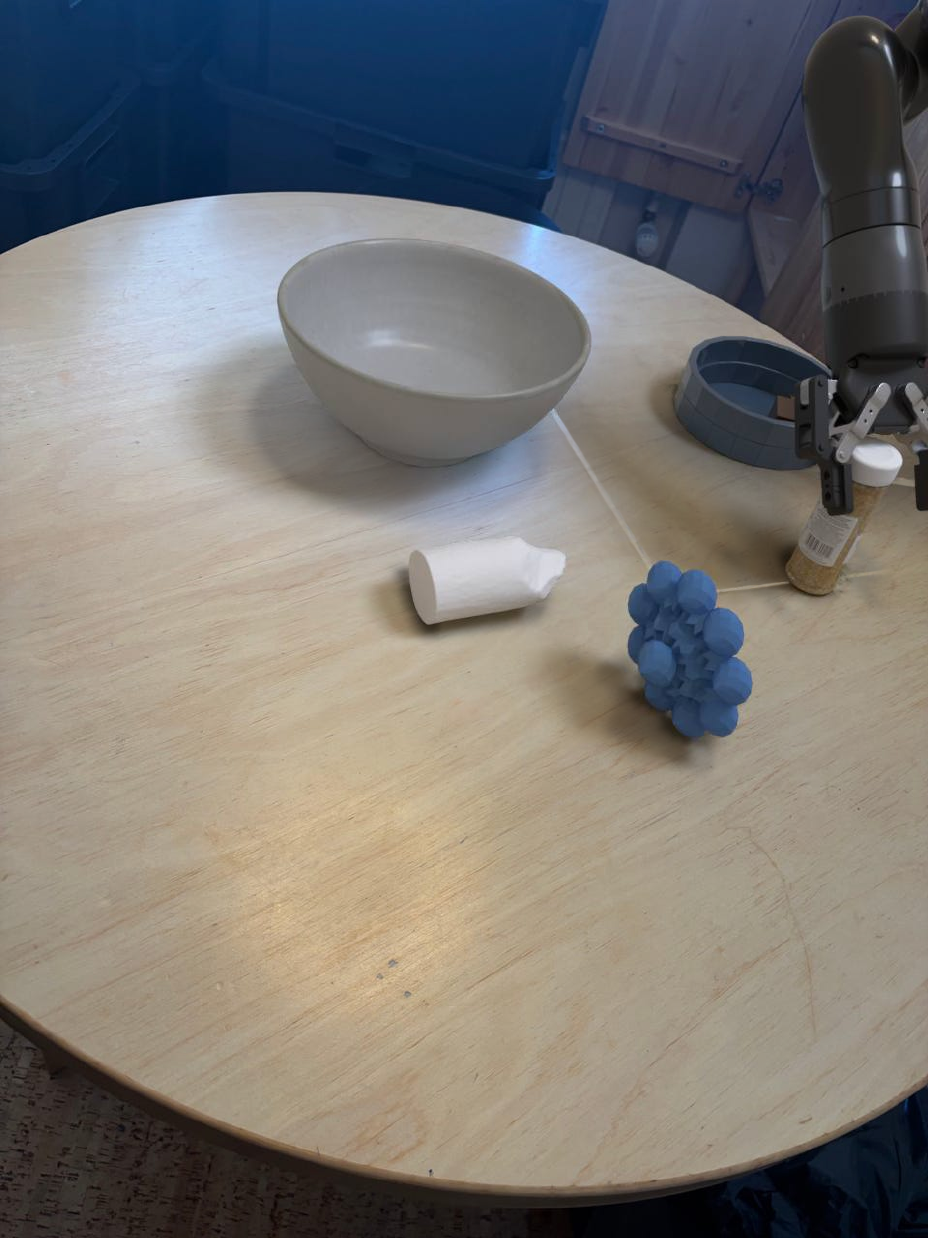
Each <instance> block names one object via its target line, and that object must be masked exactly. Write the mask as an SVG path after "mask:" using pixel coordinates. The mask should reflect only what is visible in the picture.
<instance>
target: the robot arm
mask: <svg viewBox="0 0 928 1238" xmlns="http://www.w3.org/2000/svg"><path fill="white" fill-rule="evenodd" d="M800 89H801V96H800V97H801V98H800V99H801V109H802V116H803V122H804V127H805V132H806V137H807V142H808V146H809V151H810V155H811V161H812V164H813V168H814V172H815V176H816V179H817V183H818V189H819V195H820V197H819V198H820V200H819V215H820V216H819V217H820V233H821V247H822V251H821V253H822V255H821V257H822V259H821V260H822V261H821V271H820V293H821V294H820V295H821V310H822V324H823V325H822V327H823V342H824V343H823V344H824V345H823V346H824V360H825V361H824V362H825V367H827V368H828V369H829V370H831V371H832V374H831V378H830V380H828V379H827V378H826V376H824V375H822V374H820V375H817V376H814V377H811V378H808V379H806V380H803V381H800V382H798V383H796V384H795V387H794V397H793V399H794V414H795V455H796V457H797V458H798V459H800V460H804V459H807V460H809V461H812V462H815V463H816V464H815V465H816V466H817V467H818V468H819V475H820V489H821V493H822V503H823V506H824V508H825V509H827V513H828V515H829V516H840V515H847V514H851V513H852V512H853V510H854V502H853V485H852V468H851V464H846V462H847V461H848V460H849V458H850V456H851V454H852V453H853V451H854V449H855V447H856V445H857V444H858V442H859V441H860V440H862V439H863V438H864V437H865V436H871V435H874V434H875V435H879V436H891V435H892V436H893V437H894V438H895V440H896V441H897V442H898V443H900V444H902V445H904V446H905V447H906V448H907V449H908V452H910V454H911V455H912V457H913V458H914V460H915V462H916V463H918V464H913V476H914V492H915V493H914V494H915V508H916V510H917V511H918V512H928V373H927V370H926V365H925V364H926V361H927V358H928V261H927V255H926V250H925V246H924V240H923V233H922V216H921V214H922V213H921V197H920V196H921V195H920V185H919V178H918V173H917V169H916V166H915V165H916V164H915V163H914V161H913V158H912V156H911V154H910V153H909V151H908V148H907V145H906V142H905V135H904V129H906V128H907V127H908V126H910V125H911V124H912V123H913V122H914V121H916V120H917V119H918V118H919V117H920V116H921V115H922V114H924V113H925V112H926V111H927V110H928V0H919V1H918V3H917V4H916V5H915V6H914V8H913V9H912V10H911V11H910V12H909V13H908V14H907V15H906V16H905V17H904V19H903V20H902V21H901V22H900V23H899V24H898V25H897V26H896V27H895V28H894V29H893V28H892V27H890V25H888V24H887V23H885V22H884V21H882V20H880V19H878V18H876V17H873V16H869V15H853V16H848V17H845V18H843V19H840V20H838V21H837V22H835V23H833V24H831V25H830V26H829V27H828V28H826V30H825V31H824V32H823V33H822V34H820V36H819V37H818V38H817V40H816V41H815V43H814V44H813V46H812V47H811V49H810V52H809V53H808V56H807V58H806V60H805V63H804V67H803V71H802V77H801V88H800ZM830 401H832V403H833V404H834V406H835V407H836V409H837V410H838V411H837V413H836V414H835V416H834V418H833V420H832V422H831V423H830V425H829V404H830ZM915 422H916V424H914V423H915Z"/></svg>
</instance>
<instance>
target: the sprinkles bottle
mask: <svg viewBox="0 0 928 1238" xmlns="http://www.w3.org/2000/svg"><path fill="white" fill-rule="evenodd" d="M846 464H851V468H852V485H853V502H854V510H853V512H852V513H851V514H847V515H840V516H829V515H828V513H827V509H825V508H824V506H823V503H822V492H821V493H820V495H819V497H818V499H817V501H816V503H815V505H814V507H813V509H812V512H811V513H810V516H809V517H808V519H807V521H806V524H805V526H804V528H803V530H802V532H801V534H800V536H799V538H798V542H797V544H796V547H795V549H794V550H793V553H792V555H791V557H790V559H789V560H788V561H787V562H786V563H785V567H784V571H785V574H786V576H787V577H788V579H789V583H790V584H792V585H793V586H794V587H796V588H797V589H798V590H801V591H802V592H803V591H804V592H805V593H808V594H811V595H826V594H829V593H831V592H832V591H833V590H835V588H836V586H837V585H838V580H839V579H840V576H841V574H842V572H843V571H844V569H845V567H846V565H847V563H848V562H849V561H850V560H851V558H852V556H853V554H854V553H855V550H856V549H857V546H858V545H859V543H860V541H861V539H862V537H863V536H864V531H865V530H866V528H867V526H868V524H869V523H870V520H871V518H872V516H873V514H874V513H875V511H876V510H877V507H878V505H879V504H880V503H881V499H882V498H883V496H884V494H885V492H886V490H887V488H889V487H890V485H891V484H892V483H893V482H894V481H895V479H896V477H897V475H898V474H899V472H900V470H901V468H902V465H903V456H902V455H901V452H900V451H899V450H898V449H897V448H896V447H895V446H893V445H892V444H890V443H889V442H887V441H885V440H883V439H880V438H878V437H874V436H871V435H866V436H865V437H864V438H863V439H862V440H860V441H859V442H858V444H857V445H856V447H855V449H854V451H853V453H852V454H851V456H850V458H849V460H848V461H847V462H846Z"/></svg>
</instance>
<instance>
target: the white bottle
mask: <svg viewBox="0 0 928 1238" xmlns="http://www.w3.org/2000/svg"><path fill="white" fill-rule="evenodd" d="M566 561H567V556H566V555H565V553H563V552H562V551H560V550H557V549H552V548H546V547H542V548H541V547H537V546H534V545H532V544H529V543H528V542H526V541H525V540H524V539H523V538H521V537H520V536H517V535H507V536H506V535H505V536H499V537H492V538H484V539H474V540H463V541H456V542H453V543H449V544H444V545H439V546H438V545H437V546H433V547H426V548H420V549H414V550H413V551H412V552H411V553H410V555H409V559H408V578H409V580H408V581H409V586H410V591H411V596H412V602H413V605H414V608H415V610H416V613H417V614H418V616H419V617H420V619H421V620H422V621H423V623H425V625H433V624H439V623H442V622H443V623H444V622H449V621H453V620H458V619H459V620H460V619H465V618H472V617H477V616H483V615H488V614H494V613H499V612H506V611H511V610H518V609H521V608H525V607H528V606H531V605H534V604H536V603H539V602H541V601H543V600H545V599H546V598H547V596H548V595H549V594H550V592H551V591H552V589H553V587H554V586H555V585H556V584H557V582H558V581H559V580H560V579H561V578H562V576H563V574H564V570H565V569H566V568H567V565H566Z"/></svg>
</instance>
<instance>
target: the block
mask: <svg viewBox="0 0 928 1238" xmlns="http://www.w3.org/2000/svg"><path fill="white" fill-rule="evenodd" d="M768 417H769V418H772V419H776V420H782V421H788V422H795V414H794V398H791V399H790V398H786V397H782V396H779V395H777V397H776V399H775V402H774V404H773V406H772V408H771V410H770V413H769V415H768Z"/></svg>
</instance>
